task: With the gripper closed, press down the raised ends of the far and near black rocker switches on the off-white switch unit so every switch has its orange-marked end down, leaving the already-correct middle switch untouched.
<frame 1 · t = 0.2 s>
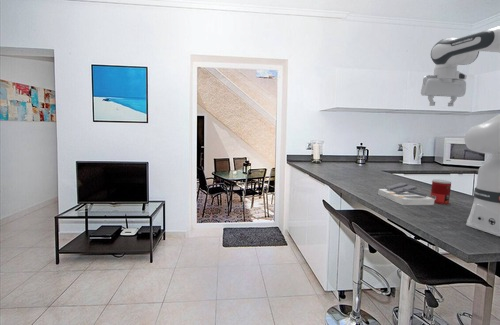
hand: (441, 106, 136), 47 cm above the countertop, tool pointing down, fingers open, 8 cm apart
switch unit: (404, 199, 150), on the countertop
canned food: (439, 202, 146), on the countertop
far rocker: (396, 186, 156), point 5 cm above the countertop, hinge at -14.0°
near rocker: (414, 192, 142), point 5 cm above the countertop, hinge at 14.0°
middle rocker: (404, 189, 149), point 5 cm above the countertop, hinge at -14.0°
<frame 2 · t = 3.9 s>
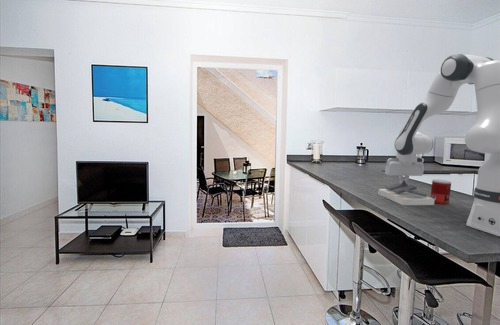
hand: (402, 183, 156), 7 cm above the countertop, tool pointing down, fingers closed, pressing on far rocker
far rocker: (396, 186, 156), point 5 cm above the countertop, hinge at -14.0°, touching gripper
everything else where it was.
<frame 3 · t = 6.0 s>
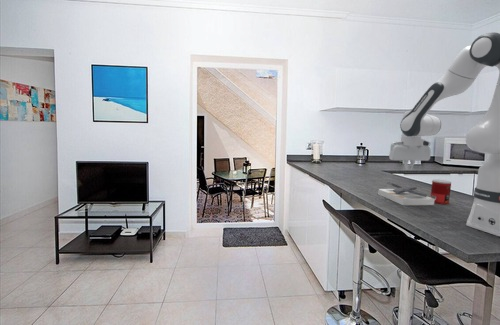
hand: (408, 169, 147), 16 cm above the countertop, tool pointing down, fingers closed
far rocker: (397, 186, 156), point 5 cm above the countertop, hinge at 19.9°, touching switch unit
everything else where it was.
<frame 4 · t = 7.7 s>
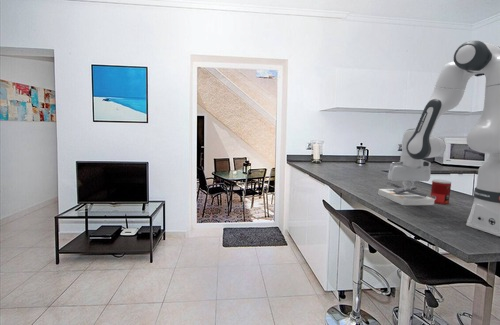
hand: (407, 189, 142), 7 cm above the countertop, tool pointing down, fingers closed, pressing on near rocker
far rocker: (397, 186, 156), point 5 cm above the countertop, hinge at 18.6°
near rocker: (414, 192, 142), point 5 cm above the countertop, hinge at 14.0°, touching gripper
everything else where it was.
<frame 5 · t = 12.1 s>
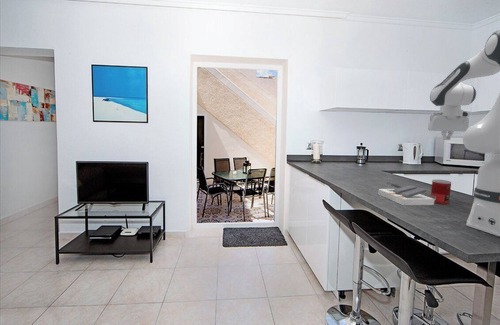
hand: (446, 140, 150), 31 cm above the countertop, tool pointing down, fingers closed
near rocker: (413, 192, 142), point 5 cm above the countertop, hinge at -16.4°
everything else where it was.
at the end: near rocker at -16° (first picture: +14°); far rocker at +18° (first picture: -14°); middle rocker at -14° (first picture: -14°) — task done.
